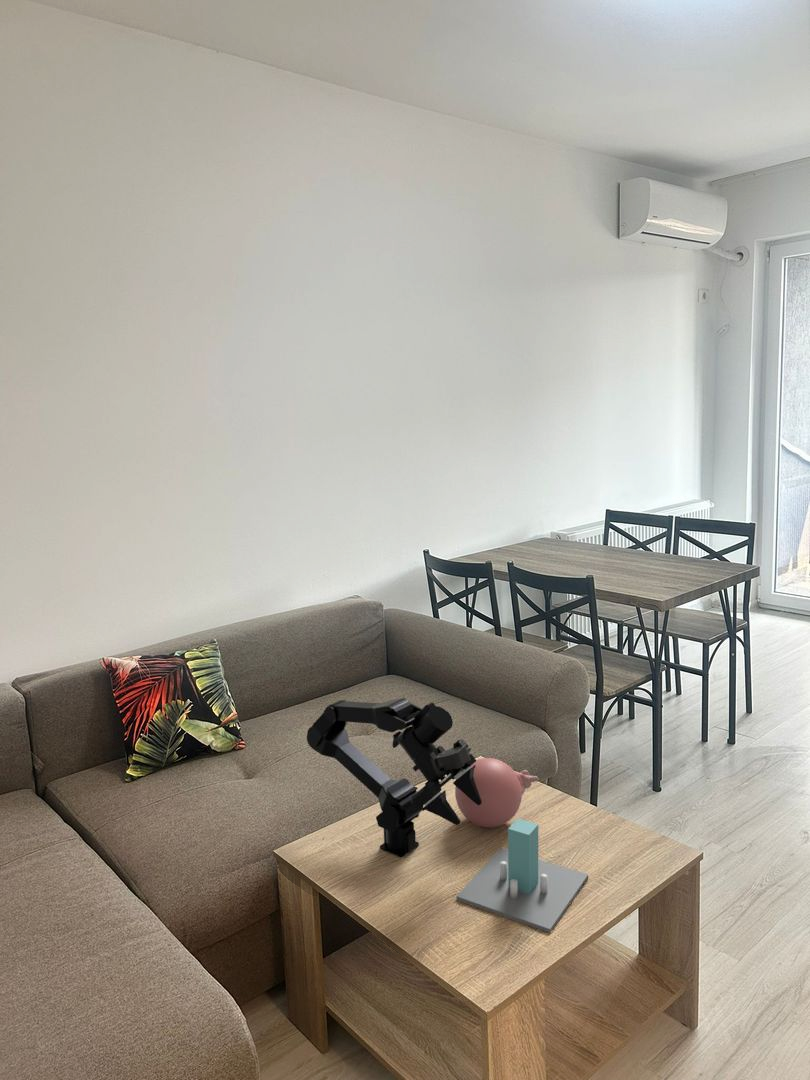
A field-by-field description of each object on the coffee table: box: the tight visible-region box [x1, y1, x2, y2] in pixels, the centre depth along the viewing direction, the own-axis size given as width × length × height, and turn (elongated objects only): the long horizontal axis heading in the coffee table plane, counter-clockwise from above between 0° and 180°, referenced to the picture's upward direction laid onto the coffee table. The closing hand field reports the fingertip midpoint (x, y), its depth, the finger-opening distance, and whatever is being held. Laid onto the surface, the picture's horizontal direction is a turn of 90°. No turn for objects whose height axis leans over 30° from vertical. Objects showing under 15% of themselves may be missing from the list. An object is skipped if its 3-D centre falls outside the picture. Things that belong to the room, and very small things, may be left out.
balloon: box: [454, 757, 540, 828], centre depth 192 cm, size 15×20×15 cm
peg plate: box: [455, 847, 589, 934], centre depth 168 cm, size 20×20×4 cm
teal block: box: [507, 818, 539, 894], centre depth 167 cm, size 4×4×13 cm
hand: (470, 813), depth 171 cm, fingers open, 9 cm apart
